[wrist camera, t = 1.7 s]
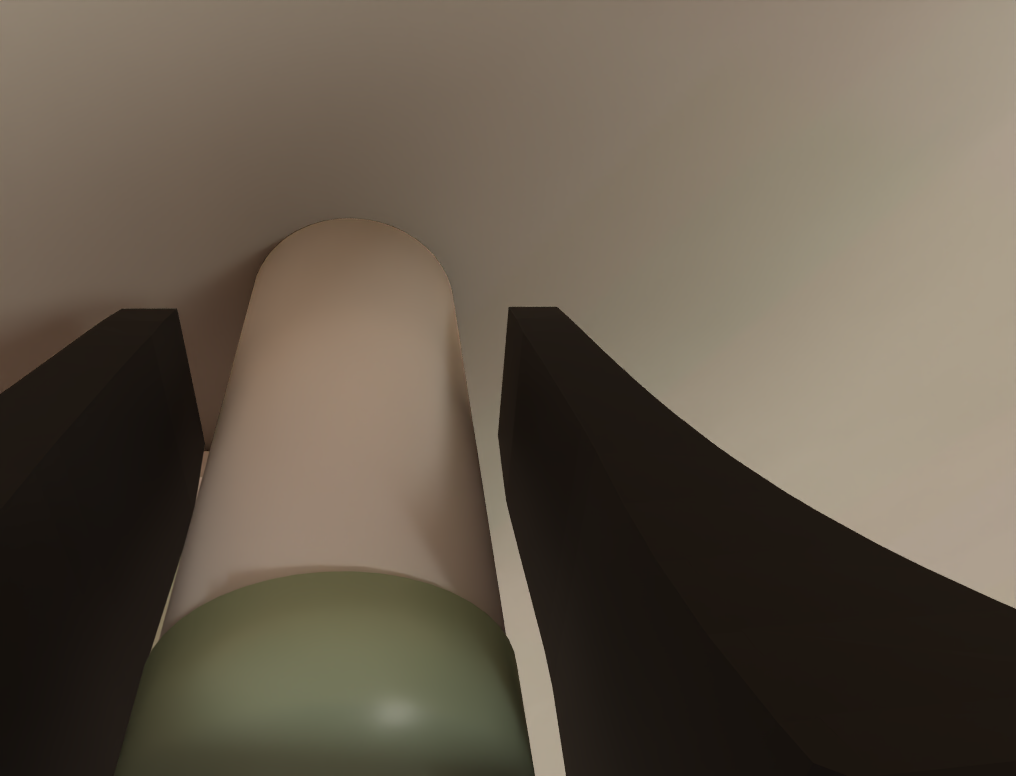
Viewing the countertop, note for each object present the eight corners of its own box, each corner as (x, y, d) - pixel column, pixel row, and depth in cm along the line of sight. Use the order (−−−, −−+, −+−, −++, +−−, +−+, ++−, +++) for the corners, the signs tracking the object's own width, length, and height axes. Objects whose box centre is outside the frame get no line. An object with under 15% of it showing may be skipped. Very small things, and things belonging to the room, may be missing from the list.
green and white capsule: (454, 391, 12) (520, 889, 6) (260, 394, 12) (150, 932, 6) (460, 215, 10) (558, 685, 5) (235, 213, 10) (48, 728, 4)
